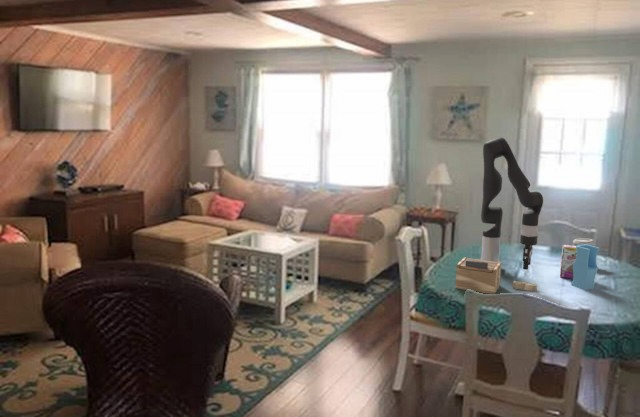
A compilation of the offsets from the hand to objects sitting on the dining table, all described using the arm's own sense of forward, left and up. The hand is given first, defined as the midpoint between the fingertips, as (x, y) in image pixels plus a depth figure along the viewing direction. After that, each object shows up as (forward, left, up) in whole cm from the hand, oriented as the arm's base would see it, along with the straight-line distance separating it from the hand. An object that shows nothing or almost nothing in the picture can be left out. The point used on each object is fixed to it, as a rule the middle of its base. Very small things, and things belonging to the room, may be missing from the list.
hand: (526, 266), depth 261 cm
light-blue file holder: (-18, +25, -11) cm, 32 cm away
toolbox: (+8, -20, -11) cm, 25 cm away
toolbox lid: (+8, -20, -1) cm, 22 cm away
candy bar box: (-31, +19, -11) cm, 37 cm away
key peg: (0, +5, -10) cm, 11 cm away
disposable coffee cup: (-58, +22, -11) cm, 62 cm away
